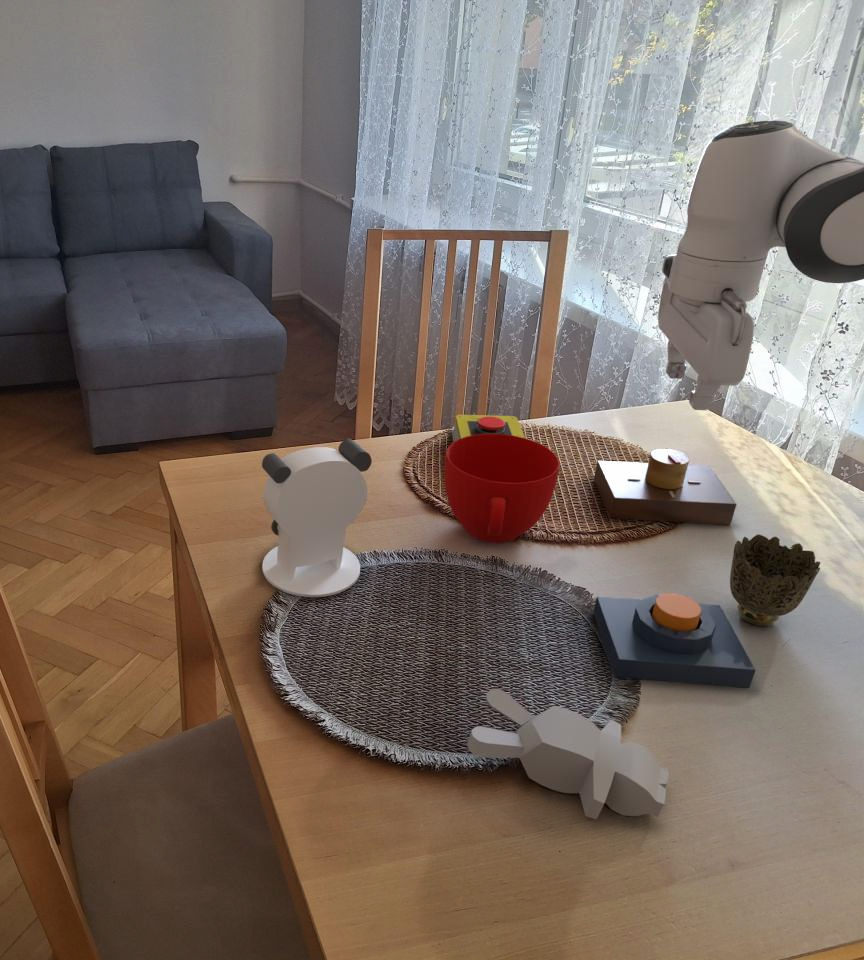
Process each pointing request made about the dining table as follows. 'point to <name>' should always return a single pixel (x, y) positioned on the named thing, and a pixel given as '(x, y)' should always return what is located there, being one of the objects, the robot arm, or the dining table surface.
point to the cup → (770, 578)
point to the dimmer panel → (663, 495)
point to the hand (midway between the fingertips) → (685, 391)
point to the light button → (676, 612)
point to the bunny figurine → (576, 757)
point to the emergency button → (485, 426)
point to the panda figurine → (314, 518)
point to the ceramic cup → (499, 484)
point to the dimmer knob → (667, 468)
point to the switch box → (671, 645)
